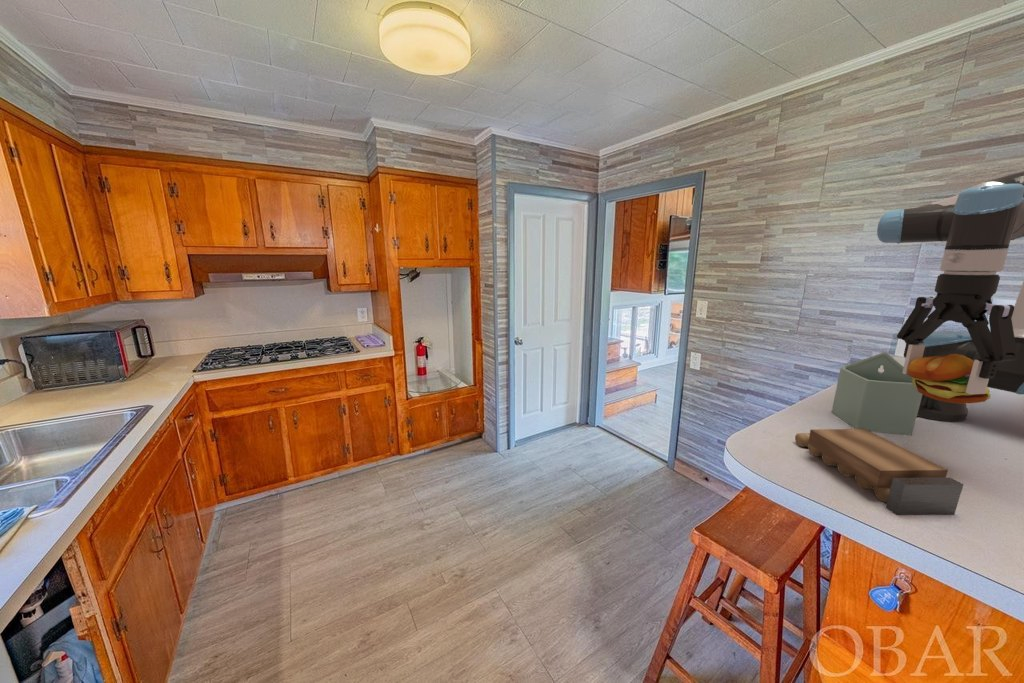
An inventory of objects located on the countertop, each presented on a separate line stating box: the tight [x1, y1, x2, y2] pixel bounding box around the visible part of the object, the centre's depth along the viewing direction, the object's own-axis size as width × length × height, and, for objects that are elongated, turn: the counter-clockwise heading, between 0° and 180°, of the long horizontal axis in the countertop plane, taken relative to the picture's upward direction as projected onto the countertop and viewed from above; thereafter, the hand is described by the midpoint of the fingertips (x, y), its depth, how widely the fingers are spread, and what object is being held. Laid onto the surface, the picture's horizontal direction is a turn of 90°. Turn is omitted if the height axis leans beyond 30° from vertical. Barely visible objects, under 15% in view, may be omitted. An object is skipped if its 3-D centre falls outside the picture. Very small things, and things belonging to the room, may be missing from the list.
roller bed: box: [794, 432, 890, 503], centre depth 77 cm, size 8×23×3 cm, turn 0°
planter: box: [831, 351, 922, 436], centre depth 95 cm, size 16×8×20 cm, turn 29°
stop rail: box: [885, 476, 964, 516], centre depth 64 cm, size 10×2×6 cm, turn 90°
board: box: [808, 428, 949, 488], centre depth 74 cm, size 12×16×4 cm
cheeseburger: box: [907, 354, 991, 404], centre depth 74 cm, size 10×11×10 cm
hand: (940, 382), depth 74 cm, fingers closed on cheeseburger, 11 cm apart
